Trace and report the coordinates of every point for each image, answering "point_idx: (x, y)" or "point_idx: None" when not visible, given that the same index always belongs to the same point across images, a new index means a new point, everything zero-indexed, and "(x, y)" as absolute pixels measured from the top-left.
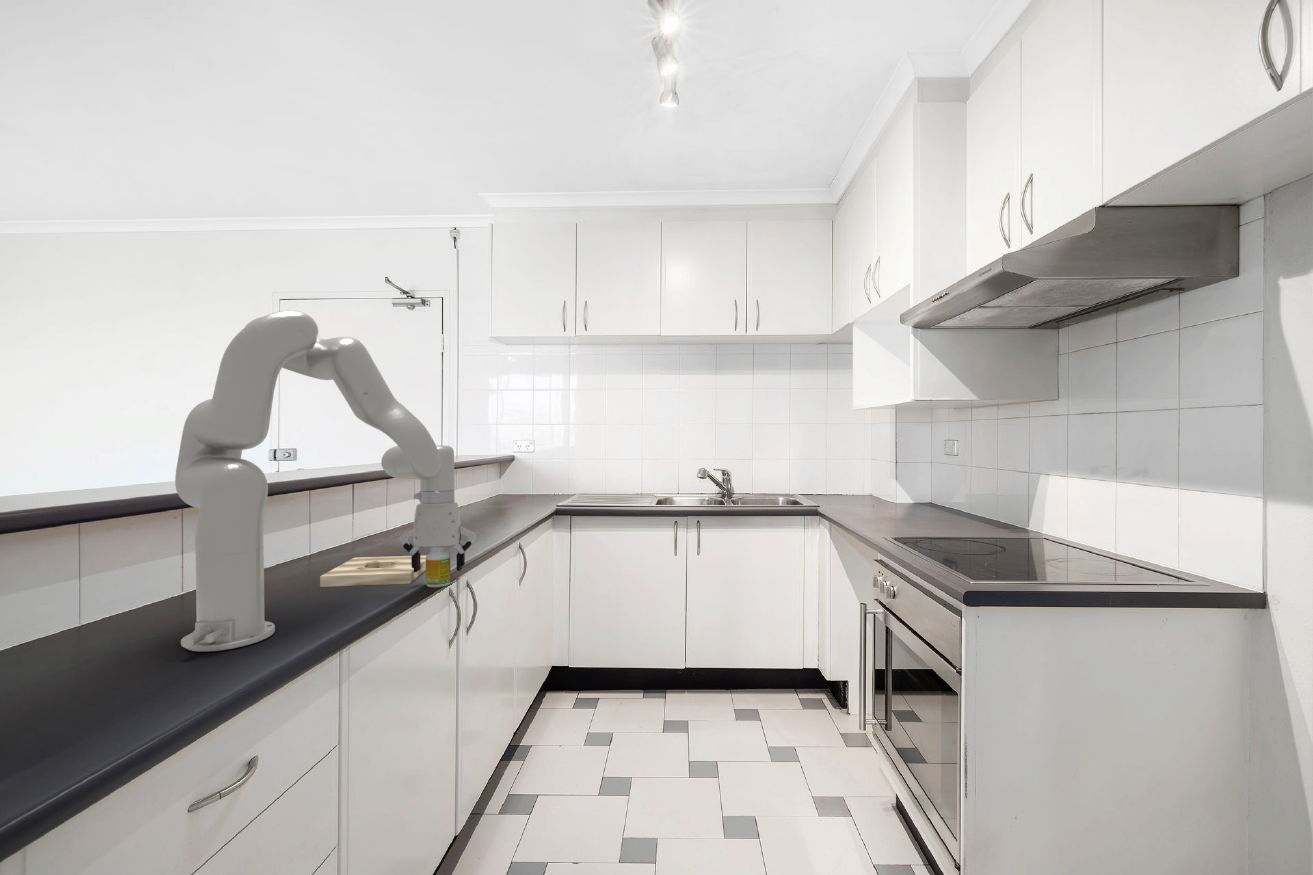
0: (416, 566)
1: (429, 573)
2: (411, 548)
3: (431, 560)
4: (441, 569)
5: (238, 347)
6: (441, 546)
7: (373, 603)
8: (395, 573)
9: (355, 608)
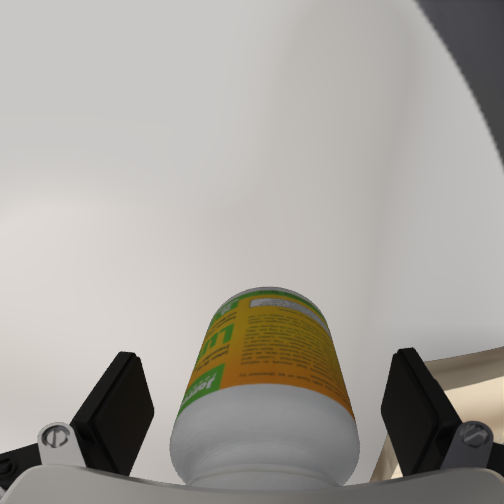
0: (408, 371)
1: (309, 329)
2: (486, 467)
3: (299, 383)
4: (223, 343)
5: None
6: (177, 486)
7: (473, 48)
8: (479, 384)
9: (496, 9)
